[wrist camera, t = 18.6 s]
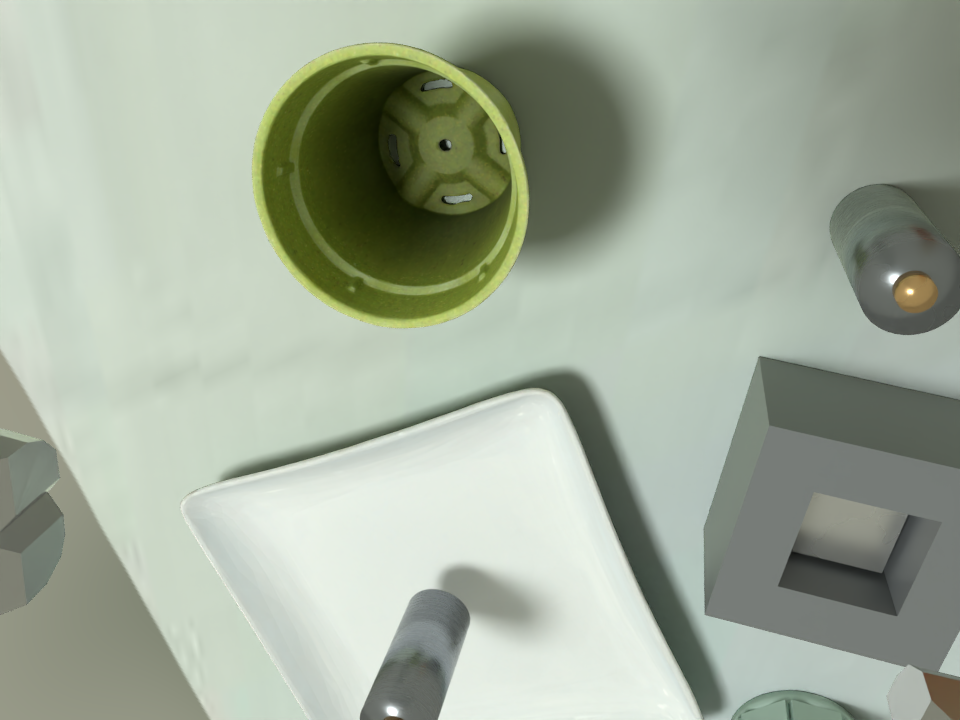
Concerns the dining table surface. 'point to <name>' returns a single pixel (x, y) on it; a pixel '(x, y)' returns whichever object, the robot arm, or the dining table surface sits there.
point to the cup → (791, 707)
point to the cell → (419, 659)
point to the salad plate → (447, 568)
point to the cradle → (847, 475)
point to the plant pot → (391, 185)
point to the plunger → (849, 532)
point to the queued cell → (896, 260)
